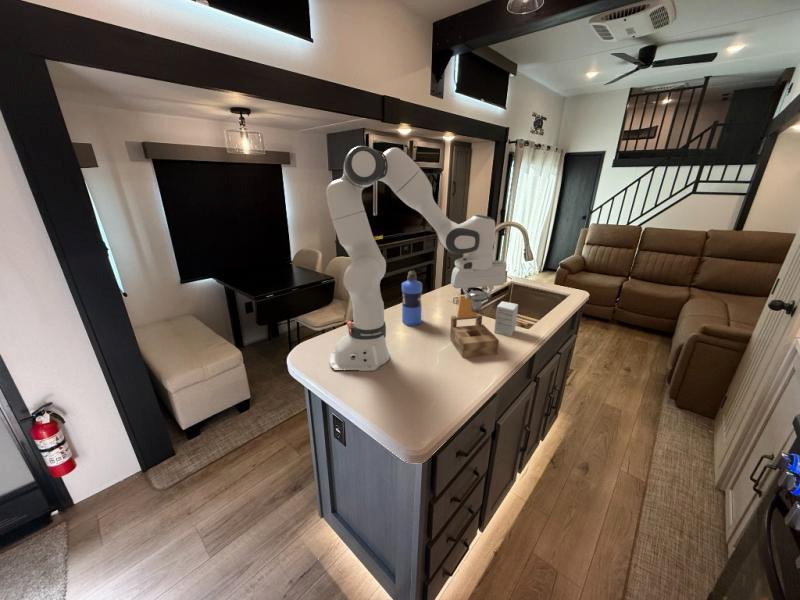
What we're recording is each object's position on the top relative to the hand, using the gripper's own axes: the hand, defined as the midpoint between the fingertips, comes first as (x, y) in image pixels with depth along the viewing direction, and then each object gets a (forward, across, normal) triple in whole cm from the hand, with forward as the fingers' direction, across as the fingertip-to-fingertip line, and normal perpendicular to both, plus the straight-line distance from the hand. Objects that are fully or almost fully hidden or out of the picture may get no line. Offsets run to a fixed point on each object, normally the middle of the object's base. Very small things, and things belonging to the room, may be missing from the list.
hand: (477, 297), depth 116 cm
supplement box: (+22, -19, -10) cm, 30 cm away
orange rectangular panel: (+7, 0, -7) cm, 10 cm away
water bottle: (+21, +19, -28) cm, 40 cm away
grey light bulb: (+5, 0, 0) cm, 5 cm away
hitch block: (+21, 0, -1) cm, 21 cm away
